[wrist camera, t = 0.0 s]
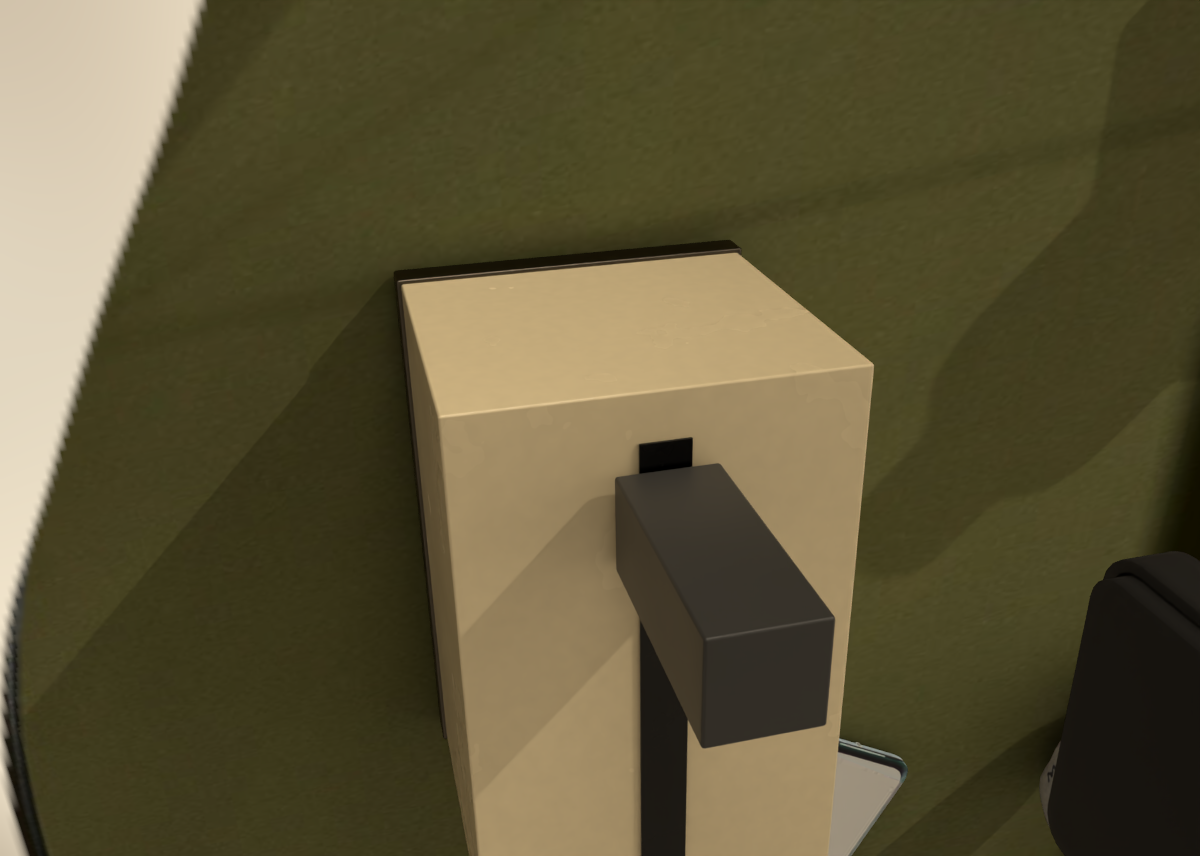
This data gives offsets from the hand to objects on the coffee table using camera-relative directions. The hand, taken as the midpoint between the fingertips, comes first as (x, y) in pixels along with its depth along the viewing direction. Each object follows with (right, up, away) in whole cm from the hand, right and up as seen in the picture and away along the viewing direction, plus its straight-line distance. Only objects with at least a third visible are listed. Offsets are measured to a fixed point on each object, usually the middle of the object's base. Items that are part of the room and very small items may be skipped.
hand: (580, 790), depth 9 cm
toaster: (0, +1, +20) cm, 20 cm away
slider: (+1, +1, +11) cm, 12 cm away
